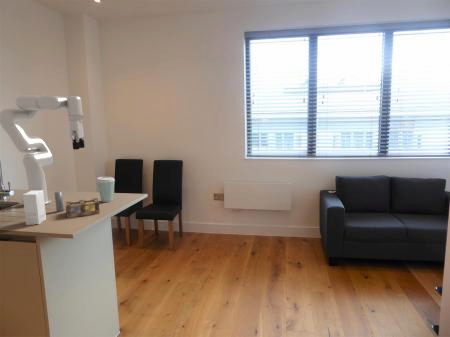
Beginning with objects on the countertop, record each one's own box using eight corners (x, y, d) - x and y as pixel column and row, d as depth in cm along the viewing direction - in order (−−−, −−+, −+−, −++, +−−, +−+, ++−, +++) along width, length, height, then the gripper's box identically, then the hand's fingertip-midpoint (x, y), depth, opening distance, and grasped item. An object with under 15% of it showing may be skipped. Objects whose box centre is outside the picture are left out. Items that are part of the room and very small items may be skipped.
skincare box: (34, 220, 162) (30, 190, 159) (47, 219, 162) (44, 189, 160) (25, 225, 153) (21, 194, 151) (39, 224, 154) (35, 193, 152)
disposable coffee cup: (116, 198, 203) (114, 175, 201) (116, 202, 193) (114, 178, 191) (98, 200, 200) (96, 176, 197) (98, 204, 190) (96, 179, 187)
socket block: (66, 218, 163) (65, 206, 162) (67, 212, 173) (65, 201, 172) (99, 213, 170) (98, 202, 169) (98, 208, 180) (97, 197, 179)
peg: (56, 212, 174) (54, 193, 172) (56, 210, 177) (54, 191, 175) (63, 211, 176) (61, 192, 174) (63, 210, 179) (61, 191, 177)
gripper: (74, 118, 187) (77, 147, 190) (63, 118, 170) (66, 150, 173) (87, 118, 188) (90, 147, 191) (77, 118, 171) (81, 149, 174)
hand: (79, 148), depth 182 cm, fingers open, 9 cm apart
